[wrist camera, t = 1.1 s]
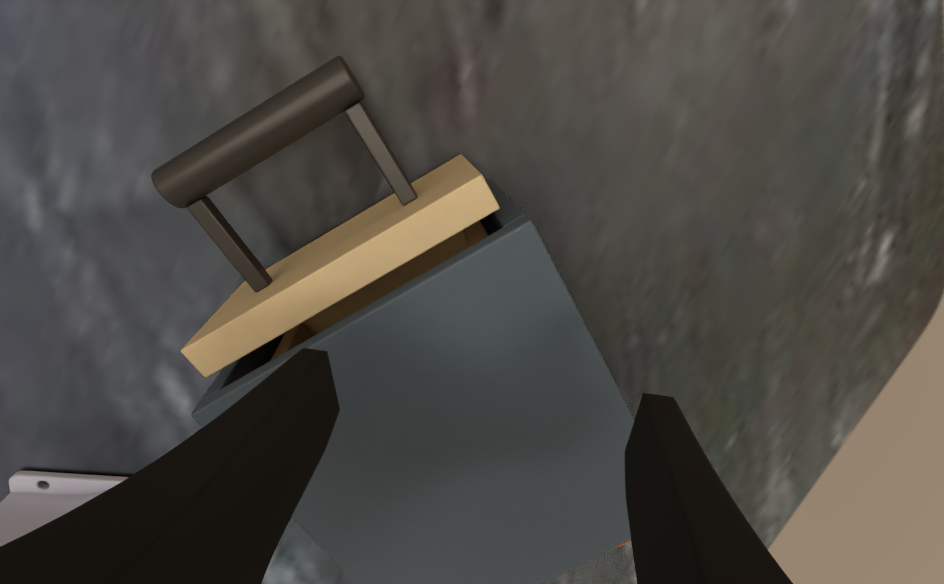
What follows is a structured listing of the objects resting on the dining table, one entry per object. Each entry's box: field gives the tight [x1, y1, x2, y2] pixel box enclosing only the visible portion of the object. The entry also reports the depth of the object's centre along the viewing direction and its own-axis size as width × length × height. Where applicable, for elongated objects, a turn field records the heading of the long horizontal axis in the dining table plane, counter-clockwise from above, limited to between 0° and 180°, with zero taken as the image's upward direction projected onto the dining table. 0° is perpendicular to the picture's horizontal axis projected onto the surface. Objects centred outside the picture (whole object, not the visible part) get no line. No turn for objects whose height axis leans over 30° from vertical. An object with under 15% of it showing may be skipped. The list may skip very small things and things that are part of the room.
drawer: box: [151, 56, 499, 378], centre depth 19 cm, size 17×11×6 cm, turn 29°
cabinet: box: [191, 180, 635, 584], centre depth 21 cm, size 14×12×8 cm
